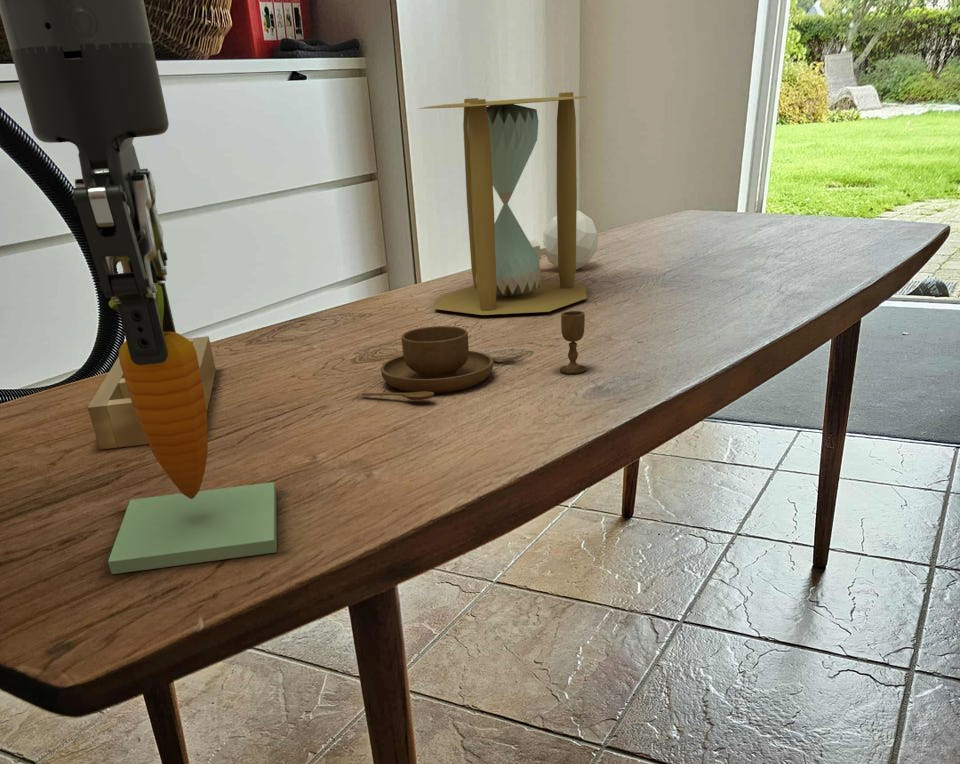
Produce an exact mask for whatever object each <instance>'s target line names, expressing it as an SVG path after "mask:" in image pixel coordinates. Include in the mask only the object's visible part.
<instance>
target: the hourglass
mask: <svg viewBox="0 0 960 764" xmlns="http://www.w3.org/2000/svg"><path fill="white" fill-rule="evenodd" d="M586 98H588V97H587V96H583V95H582V96H575V95H574V92H573V91H568V92H559V93H558V96H556V97H555V96H553V97H531V98H516V99H514V98H513V99H503V100H502V99H500V100H486V98H480V99H479V98H478V97H474V98H464V99H463V102H462V103H461V102H459V103H449V104H447V103H445V104H438V105H431V106H424V107H419V108H417V109H419V110H421V109H449V108H450V109H451V108H463V123H462V126H463V127H462V128H463V129H462V130H463V149H464V169H465V170H464V171H465V172H464V173H465V191H466V193H465V194H466V209H467V211H466V212H467V224H468V237H469V251H470V266H471V274H472V281H473V285H471V286H467V287H464V288H461V289H458V290H454V291H451V292H447V293H443V294H441V295H439V297H438V299H437V301H436V303H435V305H434V307H433V309H434V310H440V311H448V312H455V313H462V314H471V315H472V314H473V315H477V316H478V315H480V316H491V315H492V316H493V315H509V314H529V313H530V314H531V313H547V312H548V313H550V312H552V311H555V310H557V309H560V308H563V307H566V306H569V305H572V304H574V303H578V302H580V301H584V300H586V299H588V295H587V290H586V285H585V284H576V283H575V280H576V272H577V270H576V214H577V211H578V210H577V206H578V205H577V204H578V202H577V201H578V197H577V196H578V195H577V194H578V192H577V190H578V189H577V188H578V187H577V185H578V184H577V183H578V182H577V117H576V108H575V100H577V99H586ZM557 101H558V102H557ZM545 102H557V114H556V216H557V236H558V267H557V268H558V279H559V282H553V281H542V271H541V266H540V260H539V258H538V257H537V255H536V253H535V251H534V249H533V247H532V246H531V244H530V242H529V241H530V240H529V239H528V237H527V235H526V233H525V232H524V230H523V228H522V226H521V225H520V223H519V221H518V219H517V218H516V216H515V214H514V213H513V211H512V209H511V207H510V205H509V201H510V200H511V198H512V196H513V194H514V191H515V189H516V187H517V185H518V182H519V181H520V178H521V176H522V174H523V172H524V170H525V167H526V166H527V164H528V161H529V160H530V157H531V155H532V152H533V151H534V149H535V146H536V143H537V141H538V133H539V117H538V115H539V114H538V111H537V110H538V109H536V108H532V107H528V106H524V105H519V104H532V103H533V104H534V103H545ZM494 190H495V192H496V194H497V195H498V197H499V200H500V201H501V202H502V207H501V209H500V211H499V213H498V215H497V217H496V220H495V203H494V202H495V201H494Z"/></svg>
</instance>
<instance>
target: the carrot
mask: <svg viewBox="0 0 960 764" xmlns="http://www.w3.org/2000/svg"><path fill="white" fill-rule="evenodd" d="M153 284H155V286H156V293H155V299H156V303H157V307H158V311H159V316H160V320H161V324H162V328H163V315H164V298H163V291H162V287H161V286H160V285H158V284H157V283H153ZM108 306H109V308H110V309H112V310H115V311H117V312H119V310H118V307H117V303H113V301H112V299H110V300H109V301H108ZM163 333H164V337H165V341H166V346H167V350H168V356H167V359H166V360H165V361H164V362H163V363H156V364H146V365H137V364H135V363H134V362H133V361H132V360H131V358H130V354H129V350H128V346H127V342H126V340H125V341H124V342H122V344H121V345H120V346H119V349H118V357H119V361H120V365H121V368H122V372H123V375H124V378H125V382H126V385H127V389H128V392H129V395H130V398H131V401H132V404H133V407H134V411H135V414H136V417H137V419H138V421H139V424H140V426H141V428H142V431H143V433H144V435H145V437H146V439H147V442H148V444H147V445H149V448H150V450H151V452H152V454H153V456H154V458H155V459H156V461H157V462H158V464H159V466H160V467H161V469H162V470H163V471H164V473H165V475H166V476H167V477H168V478H169V479H170V481H171V482H172V483H173V485H175V487H176V488H177V489H178V490H179V491H180V493H182V494H183V495H185V496H187V497H188V498H190V499H193V498H194V497H195V496H196V494H197V493H198V492H199V491H201V490H200V489H201V487H202V483H203V479H204V475H205V473H206V466H207V461H208V454H209V445H208V444H209V442H208V441H209V438H208V437H209V436H208V435H209V433H208V432H209V430H208V429H209V428H208V410H206V403H205V397H204V391H203V384H202V379H201V374H200V368H199V363H198V358H197V353H196V350H195V348H194V346H193V344H192V342H190V341H189V340H188V339H186V336H183V335H182V334H180V333H178V332H176V333H175V332H163Z"/></svg>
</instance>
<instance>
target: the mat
mask: <svg viewBox="0 0 960 764" xmlns="http://www.w3.org/2000/svg"><path fill="white" fill-rule="evenodd" d="M277 507H278V506H277V489H276V483H275V482H274V481H271V482H270V481H269V482H262V483H255V484H247V485H240V486H239V485H238V486H230V487H223V488H214V489H206V490H199V492H198V493H197V494H196V496H195V497H194V498H193V499H190V498H188V497H187V496H185V495H183V494H182V492H180V493H173V494H166V495H157V496H150V497H141V498H133V499H130V500H129V502H128V505H127V507H126V510H125V513H124V516H123V518H122V521H121V524H120V527H119V530H118V532H117V535H116V538H115V541H114V544H113V546H112V549H111V552H110V555H109V558H108V561H107V563H108V567H109V570H110V574H111V575H118V574H125V573H133V572H140V571H141V572H142V571H147V570H156V569H164V568H169V567H170V568H171V567H177V566H187V565H192V564H199V563H200V564H201V563H208V562H216V561H224V560H230V559H237V558H245V557H252V556H260V555H268V554H275V553H277V550H278V548H277V547H278V545H277V543H278V541H277V539H278V537H277V536H278V535H277V534H278V532H277V525H278V522H277V521H278V519H277V513H278V512H277V509H278V508H277Z"/></svg>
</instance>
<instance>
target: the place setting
mask: <svg viewBox="0 0 960 764" xmlns="http://www.w3.org/2000/svg"><path fill="white" fill-rule="evenodd" d="M585 315H586V314H585V311H581V310H568V311H563V312H561V314H560V329H561V335H562V338H563V339H564V340H565V341H567V342H569V343H568V347H569V350H568V353H567V358H568V360H569V363H568V364H567V365H563V366H561V367H559V372H560V373H561V374H567V375H578V374H582V373H585V372H586V371H587V368H586V366H584V365H581V364H578V363H577V360H578V357H579V352H578V350H577V346H578V343H577V342H578V341H580V340H582V339H583V337H584V334H585V325H586V323H585V322H586V316H585ZM400 337H401V346H402V355H398V356H395V357H393V358H390V359H388V360H387V361H385V362H384V363H383V364H382V365H381V366H380V373H381V376H382V379H383V380H384V381H385V382H386V383H387V384H388V385H390V386H391V387H393V388H395V389H397V390H400V391H403V392H363V393H360V394H361V396H369V397H370V396H401V397H404V398H406V399H408V400H411V401H423V400H424V401H425V400H428V399H431V398H433V397H434V396H435V394H443V393H449V392H450V393H451V392H457V391H463V390H466V389H469V388H471V387H474V386H476V385H478V384H480V383H481V382H484V381H485V380H486V379H487V378H488V377H489V376H490V375H491V373H492V371H493V368H494V361H495V362H496V363H507V362H509V361H514V360H517V359H519V358H521V357H523V354H520V355H515V356H511V357H506V358H497V357H493V356H490V355H489V354H487V353H483V352H480V351H475V350H470V349H469V346H470V345H469V331H468V330H467V329H465V328H464V327H459V326H452V325H434V326H433V325H432V326H424V327H419V328H414V329H411V330H407V331H405V332H404V333H403V334H402V335H401V336H400Z"/></svg>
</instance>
